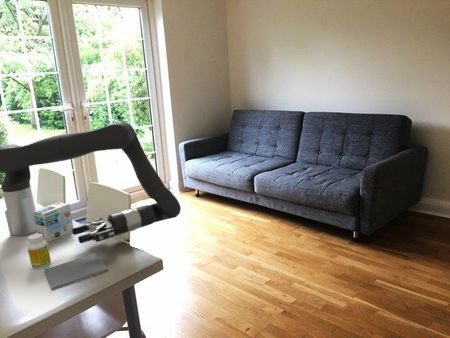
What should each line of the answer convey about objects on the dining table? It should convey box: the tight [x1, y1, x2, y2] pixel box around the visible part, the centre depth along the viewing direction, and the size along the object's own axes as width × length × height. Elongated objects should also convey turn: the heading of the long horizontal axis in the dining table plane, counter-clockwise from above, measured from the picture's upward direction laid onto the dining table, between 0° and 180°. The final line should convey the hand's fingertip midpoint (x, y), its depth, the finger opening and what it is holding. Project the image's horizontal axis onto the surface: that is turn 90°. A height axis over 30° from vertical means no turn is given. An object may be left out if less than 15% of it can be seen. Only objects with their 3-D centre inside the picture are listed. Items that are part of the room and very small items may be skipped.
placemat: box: [43, 252, 109, 291], centre depth 109 cm, size 15×13×1 cm
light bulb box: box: [33, 201, 74, 243], centre depth 135 cm, size 11×7×11 cm, turn 148°
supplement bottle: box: [27, 232, 52, 270], centre depth 113 cm, size 5×5×10 cm
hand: (75, 235), depth 119 cm, fingers open, 8 cm apart
